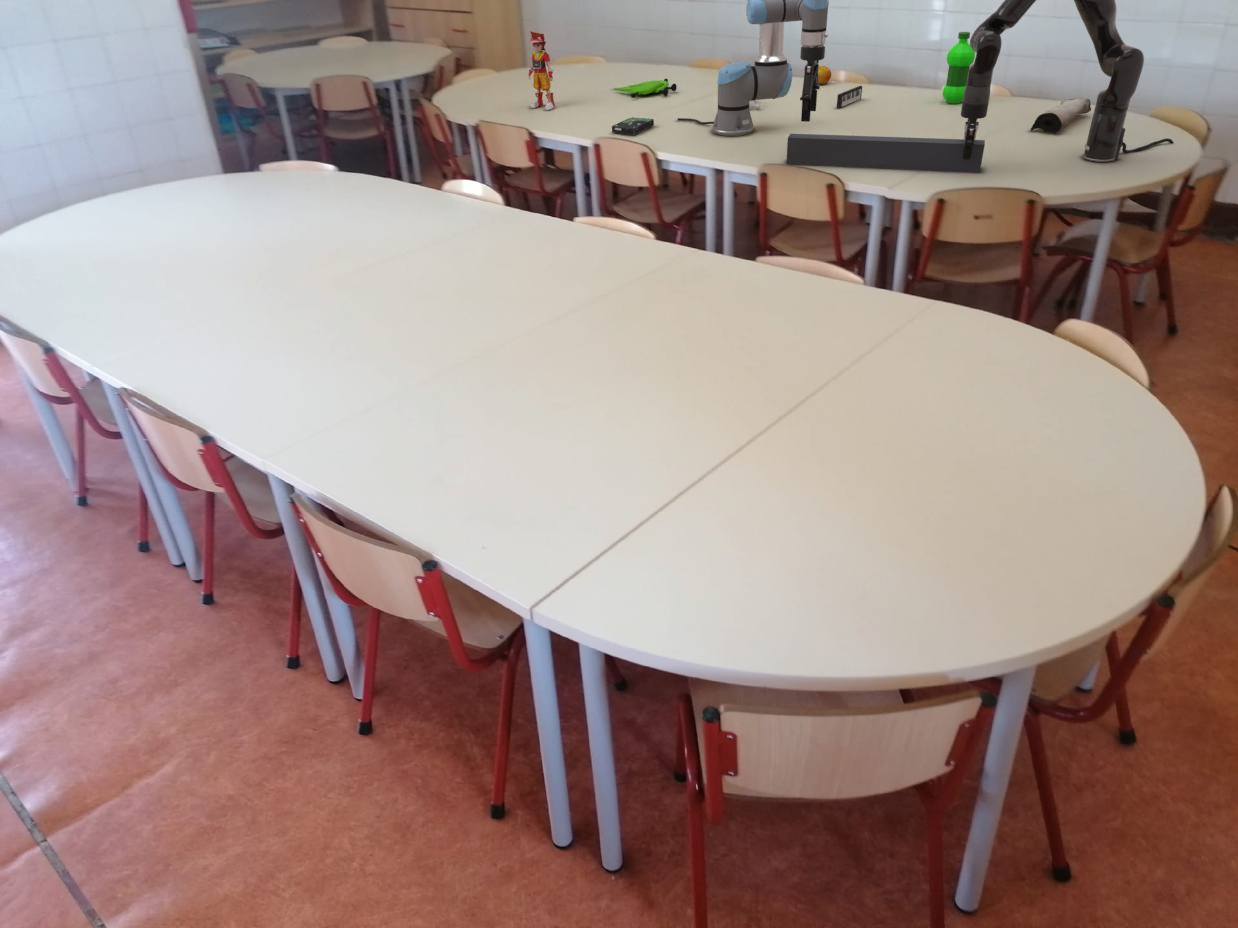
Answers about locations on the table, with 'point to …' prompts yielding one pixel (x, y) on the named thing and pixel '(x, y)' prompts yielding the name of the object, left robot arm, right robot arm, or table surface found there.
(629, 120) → the disk drive
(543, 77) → the toy
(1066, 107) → the rolled mat
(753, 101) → the anatomical model
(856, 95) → the midi keyboard
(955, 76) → the plastic bottle
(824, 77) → the fruit
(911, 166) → the beam
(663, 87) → the toy
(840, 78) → the table surface
